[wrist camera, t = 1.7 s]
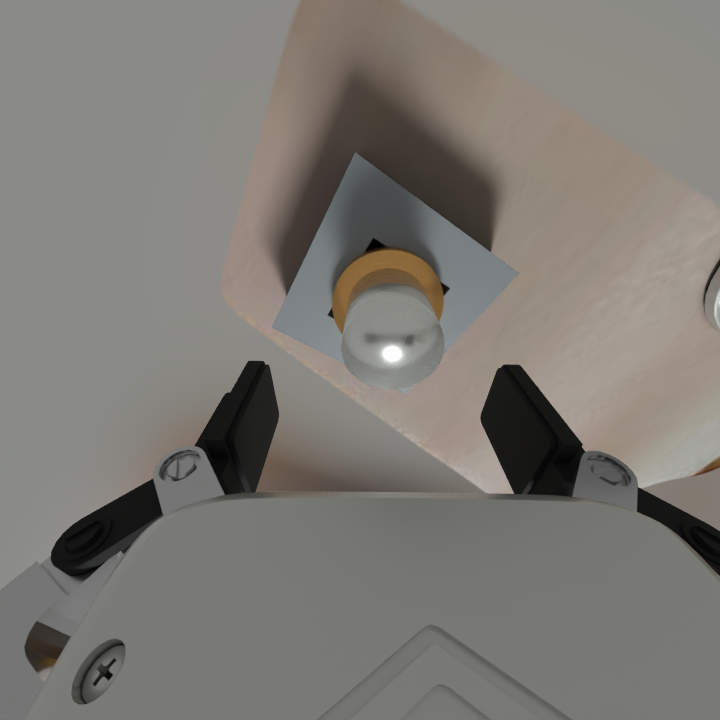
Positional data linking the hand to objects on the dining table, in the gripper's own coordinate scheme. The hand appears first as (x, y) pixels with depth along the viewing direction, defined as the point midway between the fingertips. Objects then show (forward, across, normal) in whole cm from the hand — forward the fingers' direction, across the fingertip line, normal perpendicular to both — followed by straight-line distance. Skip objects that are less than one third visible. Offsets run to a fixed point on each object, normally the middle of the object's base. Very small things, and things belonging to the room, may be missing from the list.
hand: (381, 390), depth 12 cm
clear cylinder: (+13, -1, 0) cm, 13 cm away
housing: (+14, -1, 0) cm, 14 cm away
